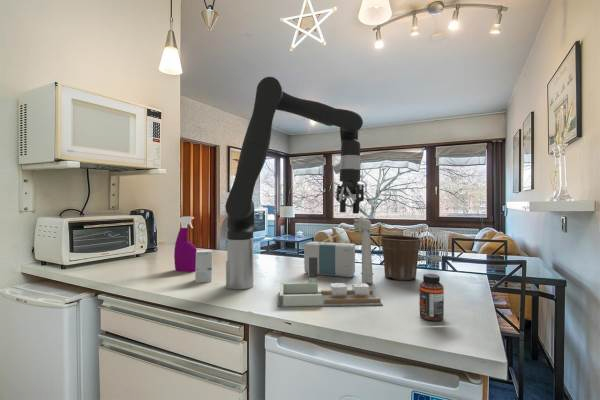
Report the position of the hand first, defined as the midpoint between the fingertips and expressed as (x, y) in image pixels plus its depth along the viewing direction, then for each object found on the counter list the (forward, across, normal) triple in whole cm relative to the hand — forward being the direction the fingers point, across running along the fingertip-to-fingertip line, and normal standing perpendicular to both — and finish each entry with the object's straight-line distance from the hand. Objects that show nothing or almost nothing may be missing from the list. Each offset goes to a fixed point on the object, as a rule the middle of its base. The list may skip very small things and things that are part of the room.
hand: (349, 212), depth 115 cm
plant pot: (+26, -2, +27) cm, 37 cm away
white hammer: (+27, -1, +8) cm, 28 cm away
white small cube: (+26, +15, -5) cm, 30 cm away
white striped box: (+27, -18, +3) cm, 33 cm away
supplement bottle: (+26, +36, +3) cm, 45 cm away
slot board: (+27, +11, -14) cm, 32 cm away
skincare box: (+28, -27, -47) cm, 61 cm away
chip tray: (+27, +8, -23) cm, 36 cm away
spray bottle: (+29, -47, -52) cm, 76 cm away
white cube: (+26, +12, -11) cm, 31 cm away
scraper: (+27, -4, -12) cm, 30 cm away
